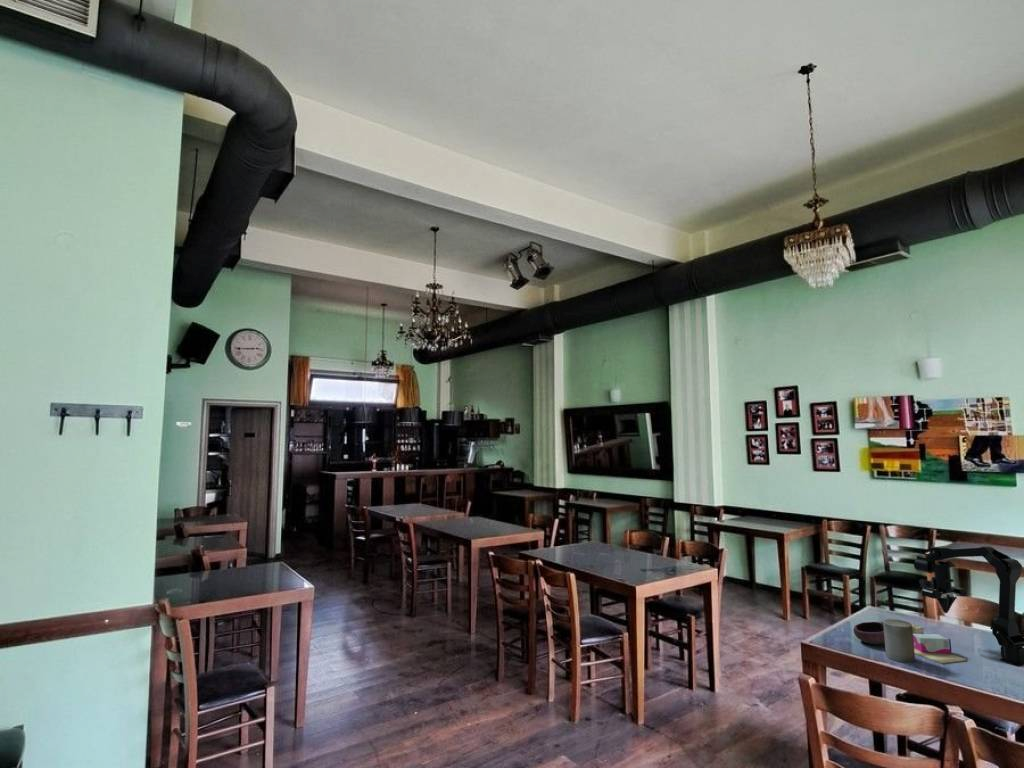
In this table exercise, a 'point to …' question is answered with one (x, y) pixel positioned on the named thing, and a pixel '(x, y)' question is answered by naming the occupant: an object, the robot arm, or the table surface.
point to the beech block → (917, 629)
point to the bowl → (870, 632)
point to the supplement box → (932, 643)
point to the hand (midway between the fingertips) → (945, 612)
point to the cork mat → (940, 657)
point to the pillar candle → (899, 640)
